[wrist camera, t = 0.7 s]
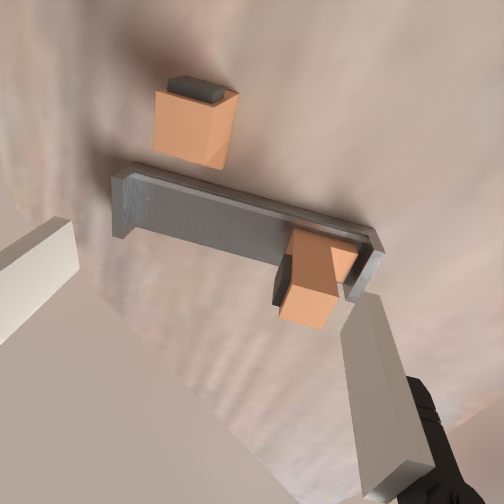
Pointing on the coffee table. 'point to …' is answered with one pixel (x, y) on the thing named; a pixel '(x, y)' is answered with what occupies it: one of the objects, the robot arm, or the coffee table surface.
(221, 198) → the rail
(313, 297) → the fixed finger
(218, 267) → the coffee table surface
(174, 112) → the block
